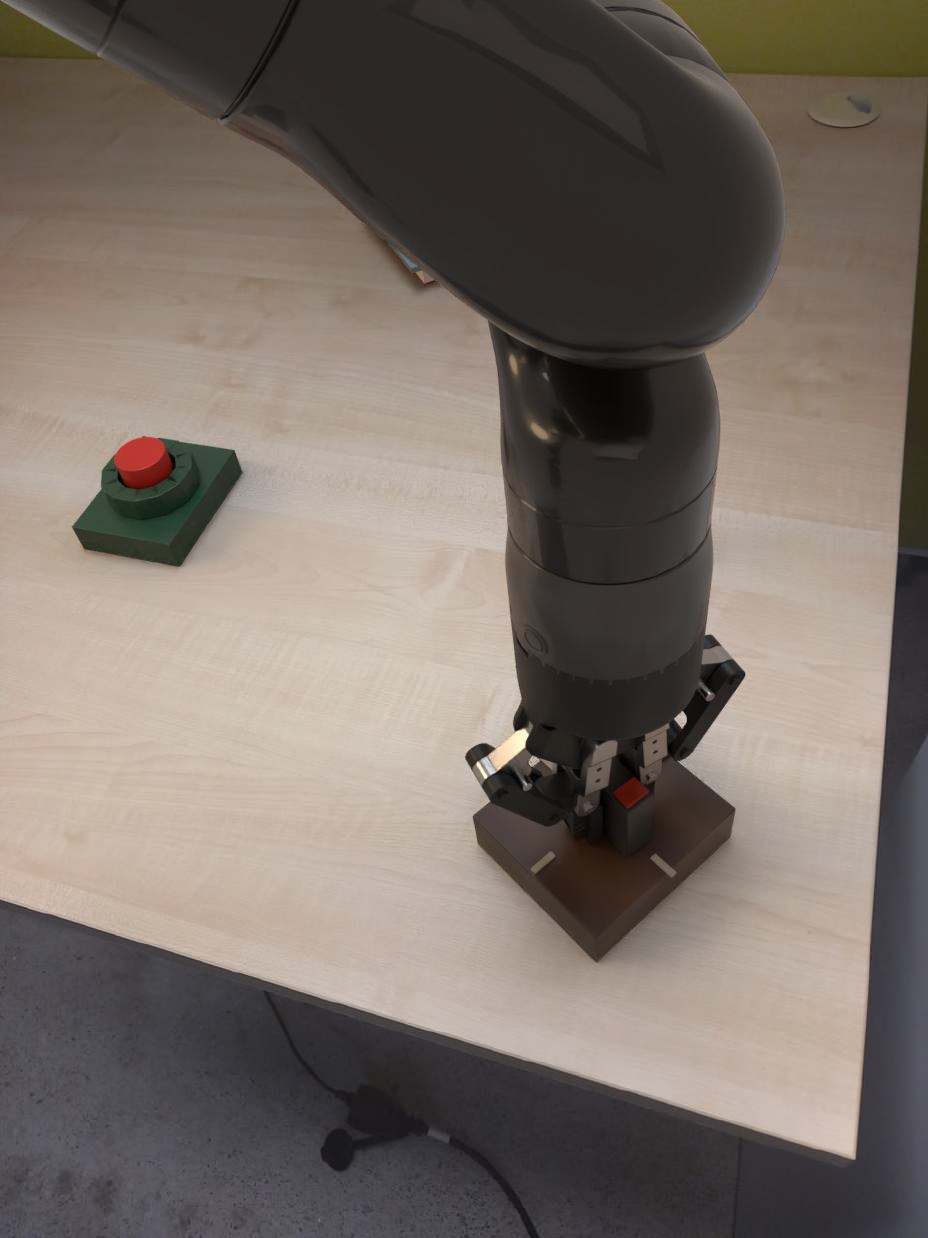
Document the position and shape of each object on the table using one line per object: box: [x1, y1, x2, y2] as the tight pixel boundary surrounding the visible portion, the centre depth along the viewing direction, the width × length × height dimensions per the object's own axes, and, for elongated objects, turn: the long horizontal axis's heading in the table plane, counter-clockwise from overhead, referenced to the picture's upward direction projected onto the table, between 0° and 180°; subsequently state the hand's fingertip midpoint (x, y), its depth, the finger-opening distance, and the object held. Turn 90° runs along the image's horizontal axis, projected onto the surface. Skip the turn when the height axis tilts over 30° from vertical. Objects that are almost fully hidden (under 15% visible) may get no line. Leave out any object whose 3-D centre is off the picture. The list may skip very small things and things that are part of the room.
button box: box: [71, 435, 243, 567], centre depth 74 cm, size 10×8×4 cm
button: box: [114, 436, 173, 489], centre depth 72 cm, size 4×4×2 cm
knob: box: [600, 757, 653, 858], centre depth 50 cm, size 6×2×5 cm, turn 36°
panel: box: [471, 757, 737, 963], centre depth 53 cm, size 10×10×3 cm
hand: (606, 816), depth 52 cm, fingers closed, pressing on knob
